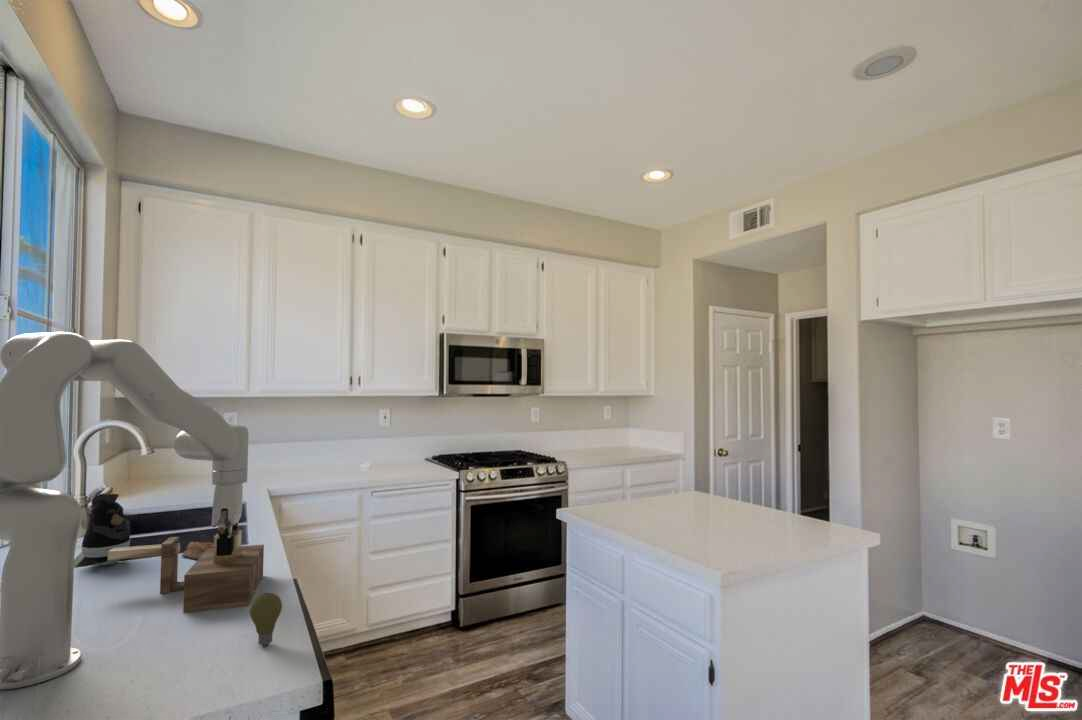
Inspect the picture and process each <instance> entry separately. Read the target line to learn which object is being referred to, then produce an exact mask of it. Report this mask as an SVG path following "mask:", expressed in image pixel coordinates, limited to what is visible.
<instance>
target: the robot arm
mask: <svg viewBox="0 0 1082 720" xmlns="http://www.w3.org/2000/svg"><path fill="white" fill-rule="evenodd" d="M0 361H1V365H2V366H3V367H4V368H5V369H6V370H7V372H6V373H5V375H3V377H2V378H1V381H0V541H5V542H10V546H9V549H8V553H7V554H6V557H5V560H4V563H3V566H2V571H1V580H0V690H12V689H19V688H20V689H21V688H24V687H29V686H33V685H37V684H40V682H41V683H43V681H44V682H47V681H49V679H50V680H52V679H54V678H57V677H58V676H59V677H60V676H61V675H64V674H65V673H67V672H69V671H71V670H72V669H73V668H75V667H77V665H78V664H79V663H80V662H81V661H82V655H83V654H82V651H81V650H80V649H78V648H75V647H72V624H73V600H74V599H73V598H74V596H73V595H74V578H75V577H74V575H75V574H74V572H75V571H74V570H75V568H74V567H75V556H76V555H75V554H76V548H77V541H78V537H79V534H80V531H81V526H82V521H83V510H82V509H83V508H82V507H81V505H80V503H79V501H78V500H77V499H76V498H75V497H74V496H72V495H71V494H69V493H67V492H65V491H62V490H61V491H60V490H56V489H50V488H41V487H38V485H39V484H45V483H47V482H50V481H52V480H54V479H55V478H57V477H58V476H59V475H61V473H62V472H63V470H64V468H65V465H66V463H67V455H66V444H65V437H64V429H63V423H62V416H61V413H62V412H61V403H62V402H61V401H62V397H63V394H64V392H65V390H66V389H67V387H68V386H69V384H70V383H71V382H72V381H76V382H79V381H81V382H82V381H83V382H86V381H88V382H108V383H110V384H111V385H112V386H113V387H114V388H115V389H116V390H117V391H119V392H120V394H121V395H122V396H124V398H125V399H127V400H128V402H130V403H131V405H133V407H135V409H137V410H138V411H139V412H140V413H141V414H142V415H144V416H145V417H148V418H150V419H151V420H153V421H157V422H158V423H162V424H165V425H168V426H171V427H174V428H176V429H179V430H181V431H180V432H179V433H178V434H177V435H176V436H175V437H174V440H173V449H174V451H175V453H176V454H177V455H178V456H180V457H181V458H184V459H187V460H192V461H209V462H212V466H211V467H212V475H211V480H212V481H211V485H213V486H214V493H213V501H212V502H213V503H212V511H211V512H212V513H211V527H212V528H216V527H217V526H218V527H217V533H218V534H217V533H216V534H217V549H216V555H217V556H226V555H231V554H232V540H233V537H231V533H232V531H235V530H240V529H239V527H240V525H239V524H240V523H239V522H240V519H241V517H242V516H243V515H242V514H243V488H244V487H243V484H245V483H247V482H248V466H249V465H248V464H249V461H248V460H249V429H248V427H246V426H244V425H230V424H229V422H227V421H226V419H225V418H224V417H223V416H222V415H220V413H219V412H218V411H216V410H215V409H213V408H212V407H211V406H209V405H207V404H206V403H204V402H203V401H201V400H200V399H197V398H196V397H195V396H193V395H191V394H190V393H188V392H186V391H185V390H183V389H182V388H180V387H179V386H178V384H177V383H176V382H175V381H174V380H173V379H172V378H171V377H170V376H169V375H168V374H167V372H166V371H164V369H163V368H162V366H160V365H159V364H158V363H157V361H155V360H154V358H153V357H152V356H151V355H150V354H149V353H148V352H147V351H146V349H144V348H143V347H142V346H141V345H140V344H138V343H137V342H135V341H132V340H127V339H103V340H102V339H100V340H98V339H97V340H95V339H94V340H93V339H87V338H85V336H83V335H80V334H79V333H74V332H68V331H66V332H65V331H51V332H49V331H48V332H47V331H46V332H32V333H31V332H30V333H22V334H19V335H15V336H13V337H11V338H10V339H9V340H7V341H6V342H5V343H4V345H2V348H1V350H0ZM46 680H47V681H46Z"/></svg>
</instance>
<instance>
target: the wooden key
mask: <svg viewBox="0 0 1082 720" xmlns="http://www.w3.org/2000/svg"><path fill="white" fill-rule="evenodd" d="M161 549H162V543H161V544H160V543H159V544H148V545H147V544H146V545H135V546H134V545H133V546H129V547H119V548H113V549H111V550H110V551H108V560H116V559H120V560H125V559H138V558H152V557H161ZM179 552H181V542H178V543H174V544H173V546H172V555H176V554H177V553H178V554H179Z"/></svg>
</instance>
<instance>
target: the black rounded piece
mask: <svg viewBox="0 0 1082 720" xmlns="http://www.w3.org/2000/svg"><path fill="white" fill-rule="evenodd" d="M118 498H119V493H118V494H117V493H109V492H108V493H107V492H106V493H105V492H104V493H99V494H97V495H95V496H94V497H93V498H92V500H91V506H92V508H91V511H90V513H89V514H87V515H88V517H89V523H88V526H87V529H86V530H85V533H84V535H83V538H82V542H81V546H80V549H81V555H82V556H83V557H85V558H86V559H87V560H89V562H91V563H93V564H94V563H95V564H96V565H98V566H110V565H112V564H114V563H117V562H119V561H120V560H121V559H116V560H108V551H110V550H111V549H113V548H119V547H130V544H131V536H130V535H131V526H130V525H131V522H130V520H128V519H127V518H126V516H125V514H124V507H123V506H122V505H121V504H120V503H119V502H116V500H117V499H118Z"/></svg>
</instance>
